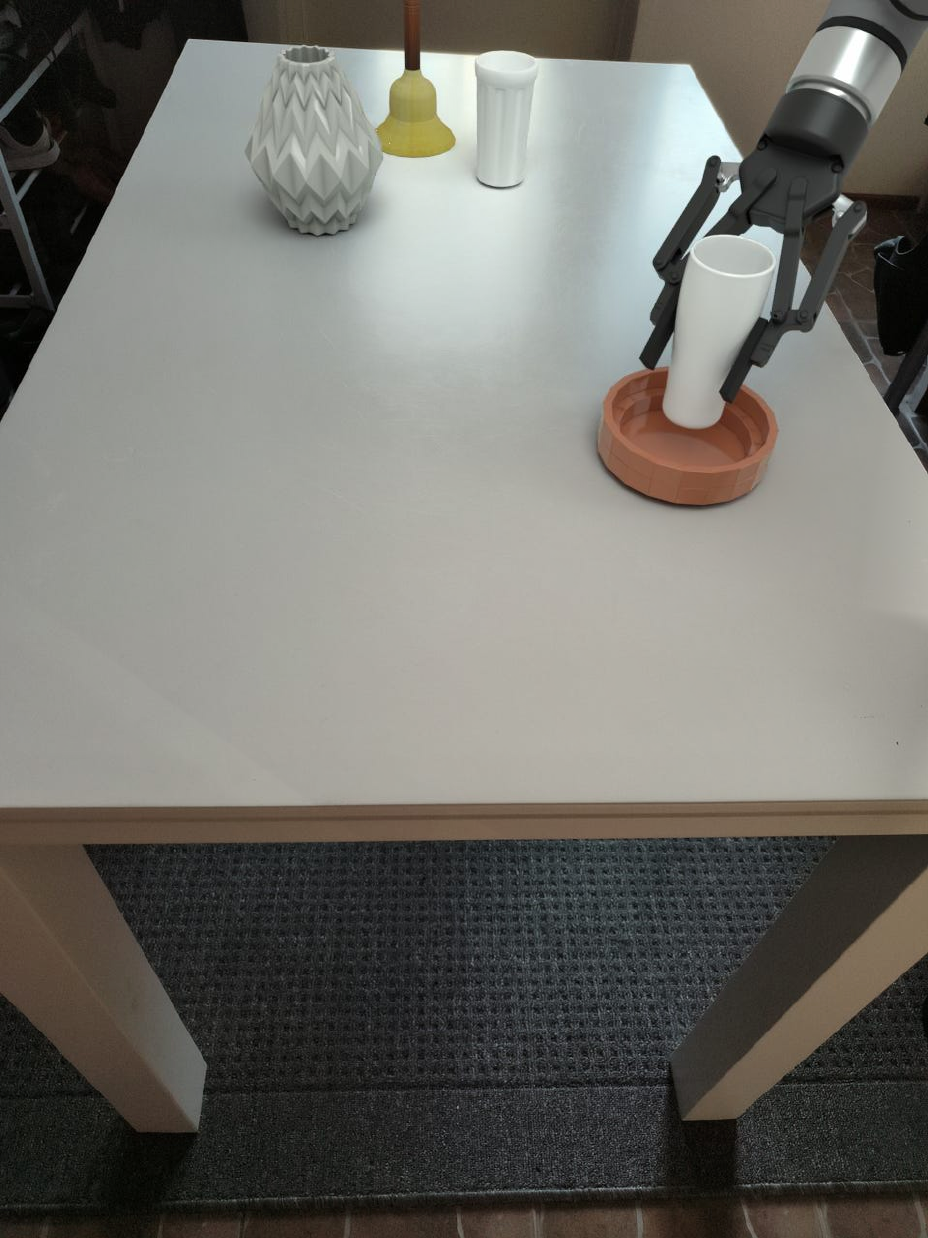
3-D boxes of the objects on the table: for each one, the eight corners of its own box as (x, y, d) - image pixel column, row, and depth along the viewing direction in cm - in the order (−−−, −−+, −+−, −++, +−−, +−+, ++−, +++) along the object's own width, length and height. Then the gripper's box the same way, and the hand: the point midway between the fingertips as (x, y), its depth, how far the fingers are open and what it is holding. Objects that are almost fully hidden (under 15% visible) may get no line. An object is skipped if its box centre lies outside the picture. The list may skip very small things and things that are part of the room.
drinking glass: (712, 447, 77) (760, 285, 66) (640, 420, 79) (675, 259, 68) (739, 407, 81) (789, 248, 69) (670, 383, 83) (708, 225, 72)
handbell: (353, 135, 129) (340, -80, 110) (420, 115, 134) (418, -93, 115) (405, 164, 123) (401, -57, 104) (473, 142, 128) (481, -72, 109)
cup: (506, 198, 117) (514, 77, 106) (458, 180, 120) (461, 61, 109) (541, 178, 121) (552, 60, 111) (493, 161, 124) (499, 45, 114)
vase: (228, 225, 110) (199, 56, 96) (317, 180, 119) (302, 20, 105) (327, 266, 104) (312, 93, 90) (413, 216, 113) (411, 51, 99)
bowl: (775, 429, 87) (790, 390, 83) (747, 531, 77) (761, 491, 74) (621, 389, 90) (628, 350, 87) (575, 482, 80) (582, 443, 77)
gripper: (946, 171, 70) (798, 437, 74) (720, 106, 77) (596, 352, 81) (955, 119, 63) (792, 415, 67) (707, 53, 70) (572, 324, 74)
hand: (685, 380), depth 74 cm, fingers closed on drinking glass, 7 cm apart
